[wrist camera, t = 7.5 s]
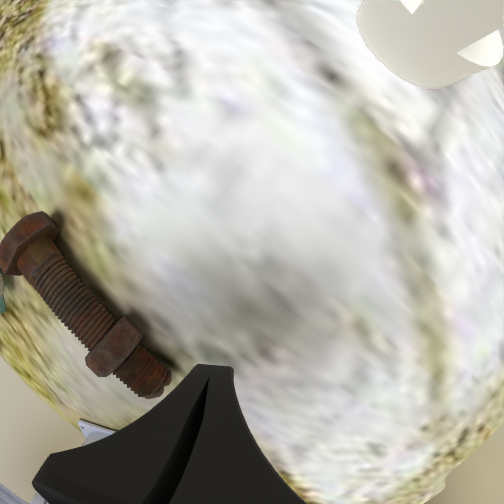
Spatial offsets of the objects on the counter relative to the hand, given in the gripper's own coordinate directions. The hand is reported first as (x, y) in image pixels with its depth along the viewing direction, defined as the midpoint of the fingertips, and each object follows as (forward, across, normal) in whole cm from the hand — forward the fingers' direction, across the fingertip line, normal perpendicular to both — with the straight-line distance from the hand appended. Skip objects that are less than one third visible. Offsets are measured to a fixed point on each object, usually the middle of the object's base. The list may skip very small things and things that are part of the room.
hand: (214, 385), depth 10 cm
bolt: (+9, +10, +1) cm, 14 cm away
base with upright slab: (+9, -12, -20) cm, 25 cm away
